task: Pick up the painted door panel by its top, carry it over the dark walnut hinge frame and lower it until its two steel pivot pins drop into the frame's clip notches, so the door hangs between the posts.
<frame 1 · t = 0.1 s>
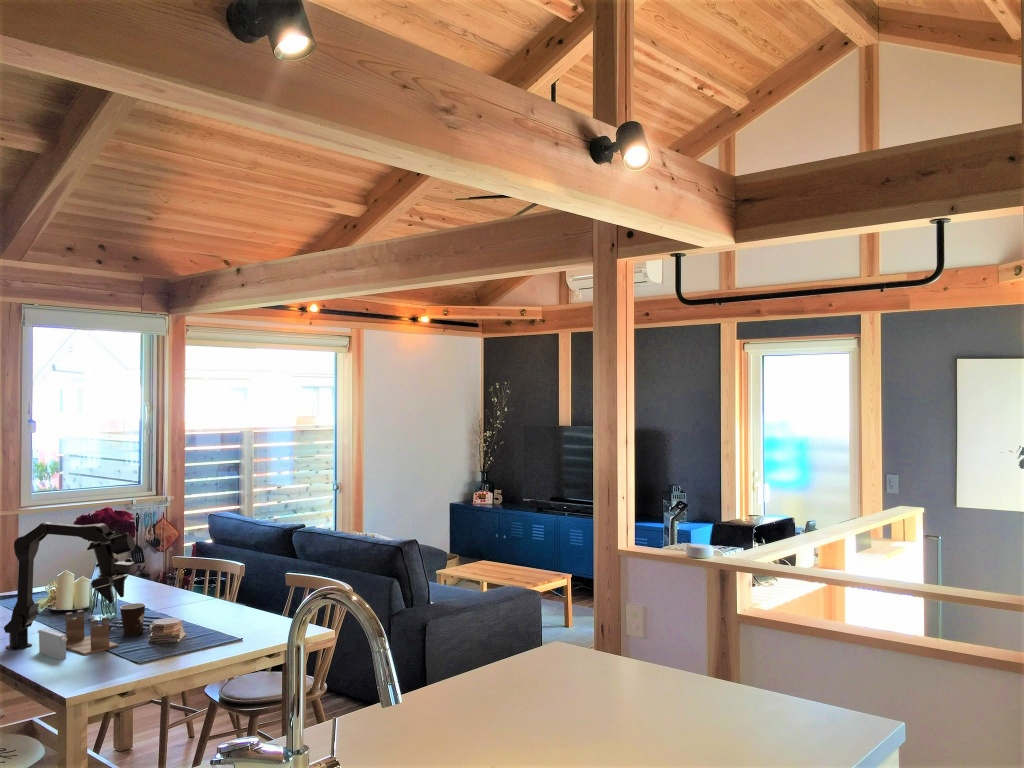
hand: (117, 600, 300), 15 cm above the table, tool pointing down, fingers open, 9 cm apart
door: (52, 655, 287), on the table
hinge frame: (87, 646, 296), on the table
coffee mug: (136, 632, 314), on the table
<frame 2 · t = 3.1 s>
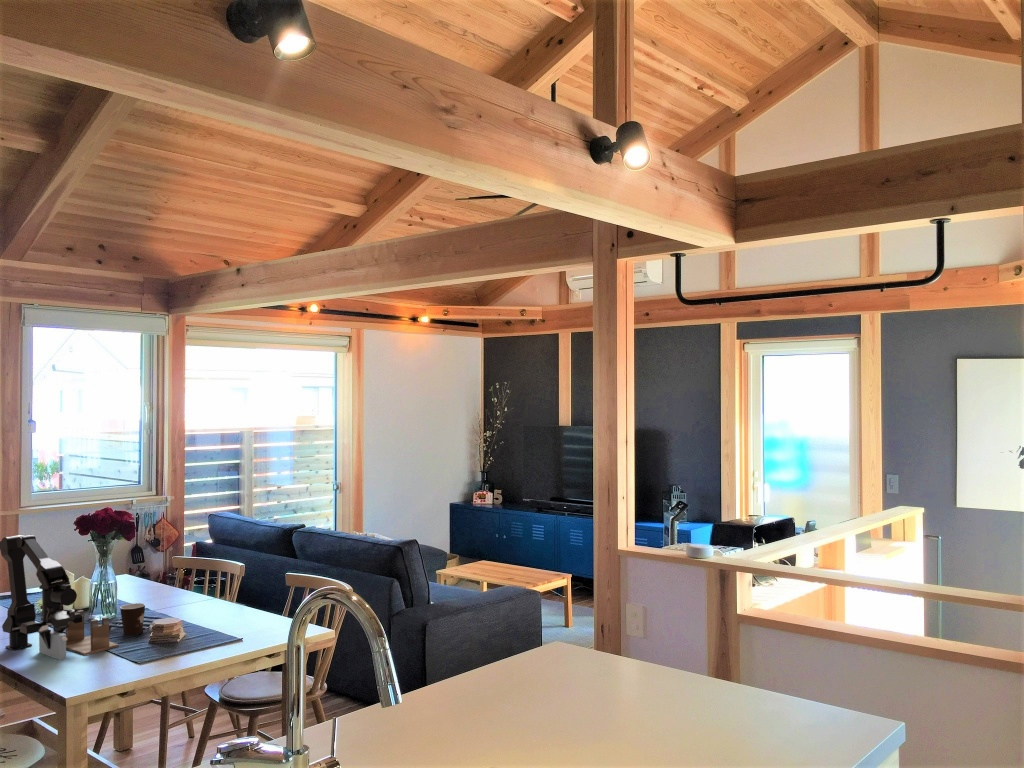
hand: (52, 647, 287), 3 cm above the table, tool pointing down, fingers closed on door, 2 cm apart
door: (52, 655, 287), on the table, touching gripper
everything else where it was.
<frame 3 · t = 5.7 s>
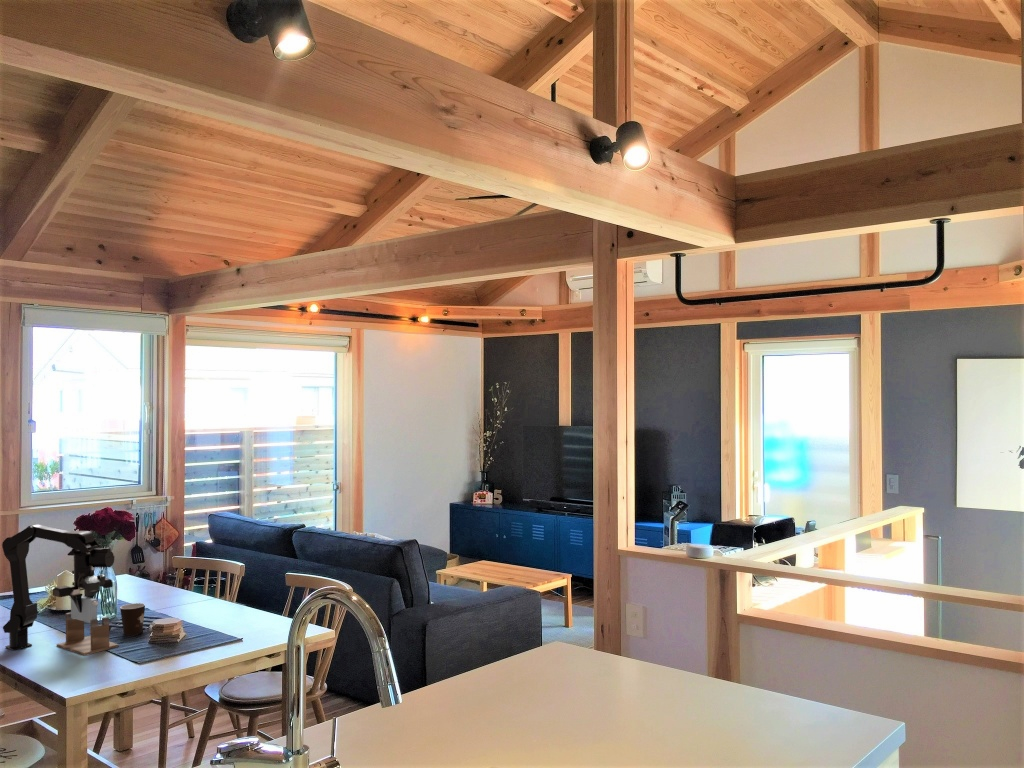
hand: (83, 611, 295), 13 cm above the table, tool pointing down, fingers closed on door
door: (83, 619, 295), point 10 cm above the table, touching gripper
everything else where it was.
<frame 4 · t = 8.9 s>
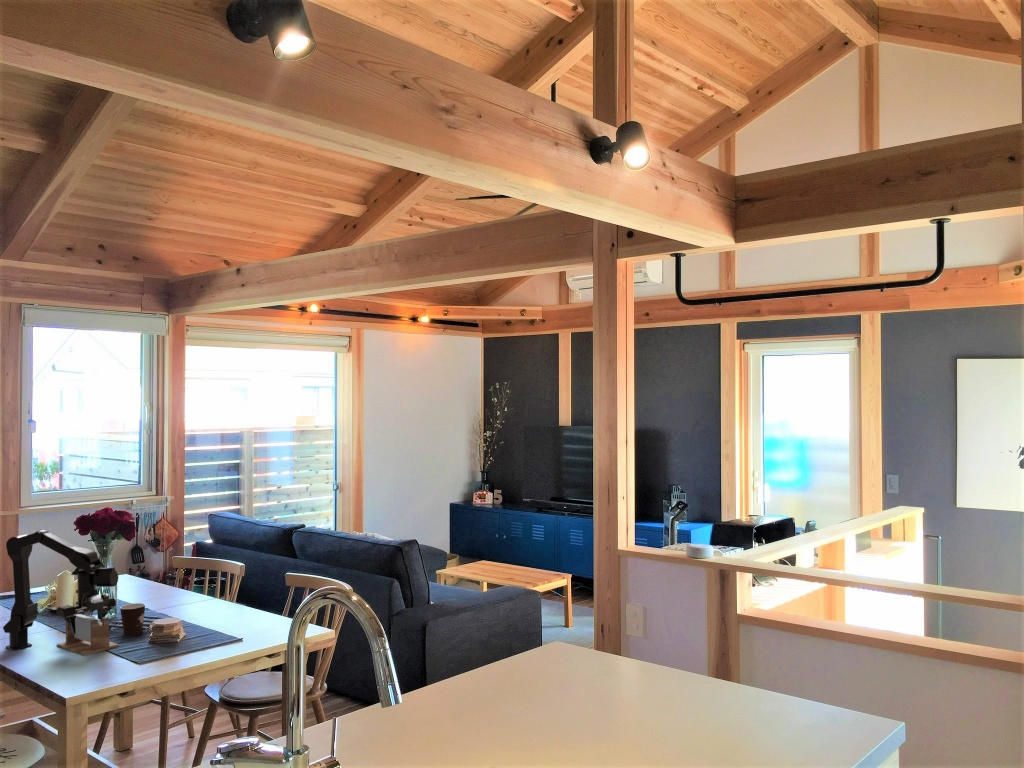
hand: (87, 630, 296), 6 cm above the table, tool pointing down, fingers open, 9 cm apart
door: (87, 640, 296), point 2 cm above the table, touching hinge frame
everything else where it was.
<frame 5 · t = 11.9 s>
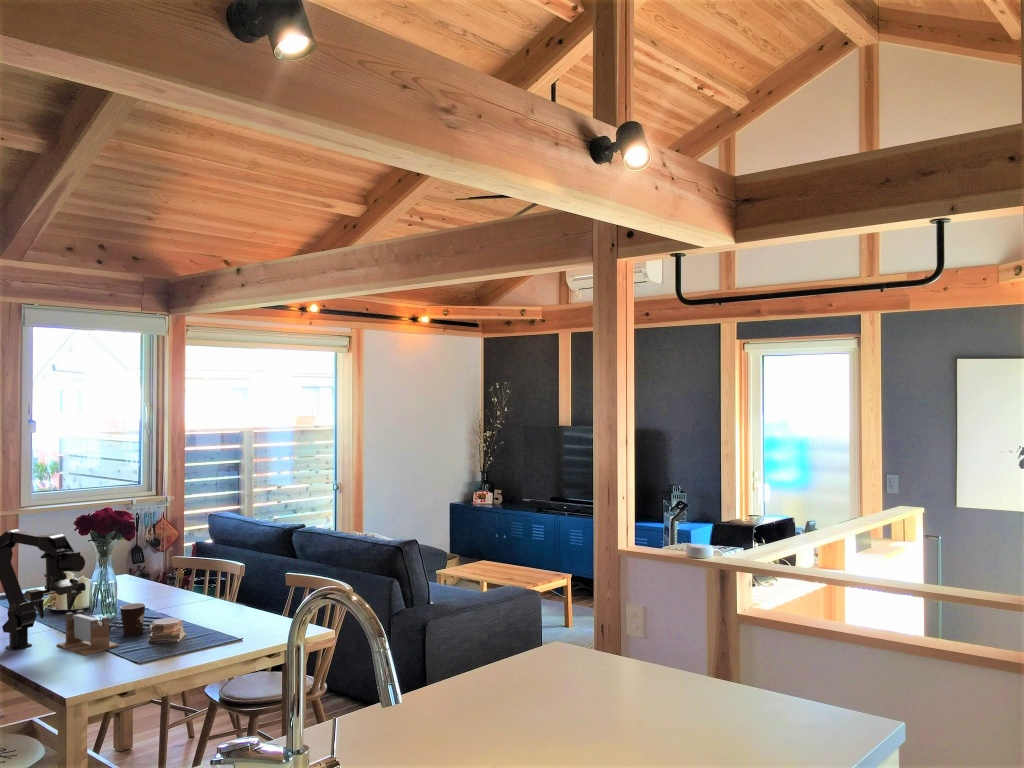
hand: (55, 615, 294), 12 cm above the table, tool pointing down, fingers open, 9 cm apart
nothing on the table moved.
at the end: door 0.2 cm off-centre on the hinge frame, point 2.3 cm above the hinge frame's base; door tilted 0°; the gripper is holding nothing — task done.
